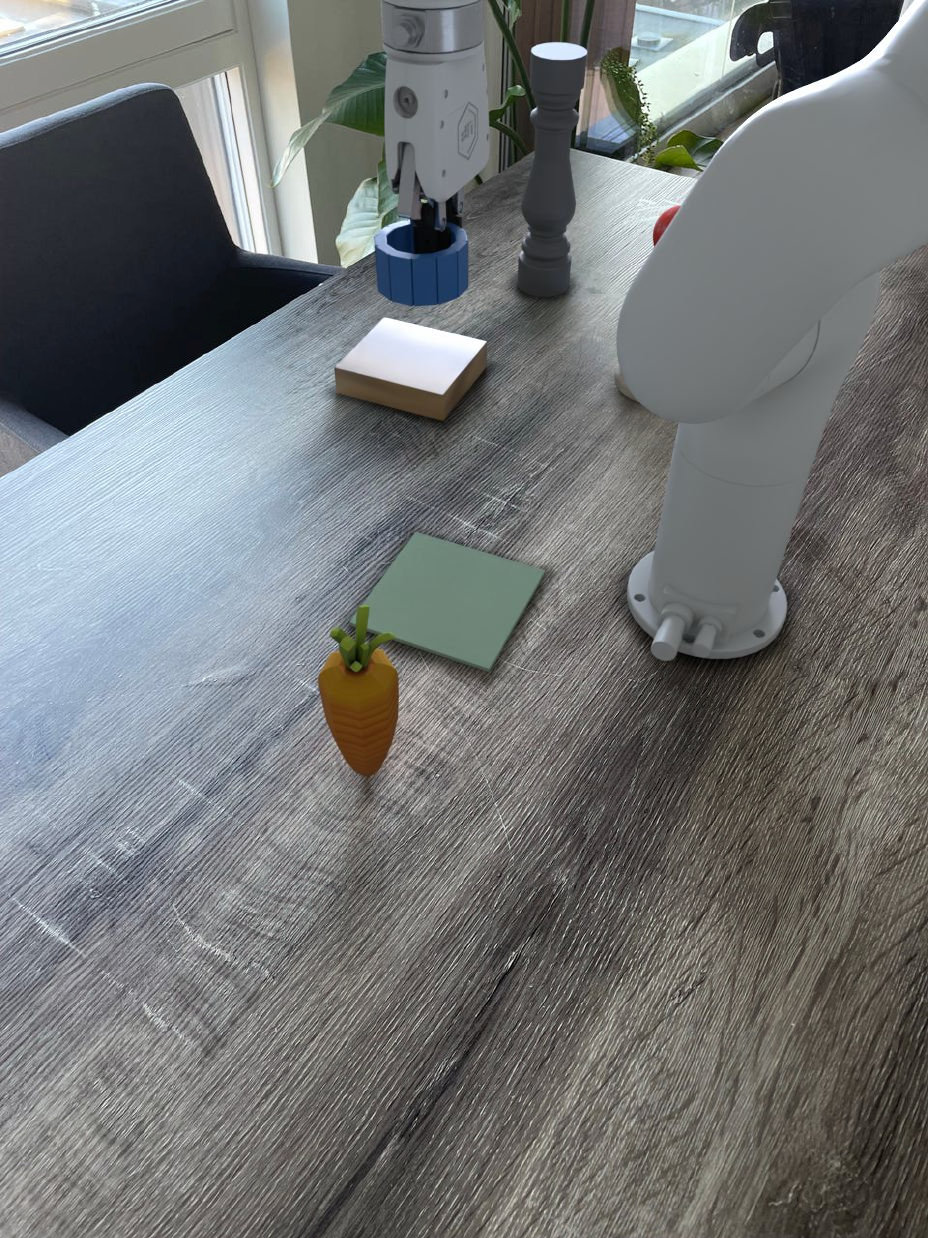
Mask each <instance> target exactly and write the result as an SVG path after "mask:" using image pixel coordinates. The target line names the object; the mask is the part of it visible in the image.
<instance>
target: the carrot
mask: <svg viewBox="0 0 928 1238" xmlns="http://www.w3.org/2000/svg"><path fill="white" fill-rule="evenodd" d="M361 605H362V604H361ZM361 605H358V606H357V610H356V612H357V616H356V628H355V637H354V638H352V637H350V636H349V635H348V634H347V633H346V631H344V630H343V629H342V628H341V627H339V626H336V627H333V628H332V629H331V630H330V633H329V637H330V638H332V640H334V641H335V642H336V643H338V650H337V651H334V652H331V653H330V654H329V655H328V658H326V661H325V663H324V665H323V666H322V669H320V670H321V671H320V672H319V673H318V676H317V677H318V678H317V685H318V690H319V697H320V700H321V701H320V702H321V705H322V709H323V713H324V714H323V715H324V718H325V721H326V725H327V726H328V729H329V731H330V734H331V736H332V737H333V741H334V742H335V744H336V747H337V749H338V750H339V751H340V753H341V756H342V757H343V759H344V761H345V762H346V764H347V765H348V766H349V767H350V768H351V770H353V771H354V772H355V773H357V774H358V775H360V776H362V777H365V778H369V777H372V776H374V775H376V774H377V773H378V771H380V769H381V768H382V766H383V764H384V762H385V761H386V758H387V756H388V754H389V752H390V750H391V747H392V744H393V742H394V737H395V734H396V729H397V725H398V721H399V711H400V709H399V707H400V686H399V685H400V683H399V682H400V681H399V673H398V671H397V670H396V668H395V666H394V665H393V663H392V661H391V660H390V659H389V657H388V655H387V653H386V652H385V651H384V649H380V648H379V647H380V646H381V645H383V644H384V643H388V642H391V641H394V640H393V639H395V636H394V634H393V633H392V632H387V633H383V634H381V635H376V636H375V637H374V638H373V639H372V640H371V641H370V642H369V643H366V637H367V624H368V617H369V606H368V605H362V606H361ZM354 639H355V640H354Z"/></svg>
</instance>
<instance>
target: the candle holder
mask: <svg viewBox="0 0 928 1238" xmlns="http://www.w3.org/2000/svg"><path fill="white" fill-rule="evenodd" d="M587 56H588V50H587V49H586V48H585V47H583V46H581V45H578V44H575V43H570V42H559V41H558V42H557V41H553V42H545V43H540V44H536V45H535V46H533V47H531V50H530V64H529V85H528V86H529V87H530V88H531V95H532V97H533V99H534V102H535V105H536V107H535V108H534V109H532V110H531V112H530V114H529V122H531V124H532V125H533V127H534V130H535V133H534V134H535V135H534V150H533V151H534V152H533V160H532V164H531V167H530V170H529V175H528V178H527V182H526V184H525V189H524V192H523V196H522V199H521V204H520V210H521V214H522V216H523V218H524V220H525V222H526V224H527V230H528V233H527V234H526V236H525V238H523V239H522V241H521V244H520V245H521V246H520V249H521V250H522V251H520V252H519V255H518V261H517V263H518V264H517V282H516V283H517V284H516V285H517V287H518V288H519V290H520V291H522V292H523V293H525V294H526V295H531V296H534V297H538V298H539V297H540V298H549V297H557V296H560V295H562V294H564V293H566V292H567V291H568V290H569V287H570V279H571V269H572V259H573V258H572V255H571V254H570V250H571V243H570V241H569V240H568V237H567V236H566V234H565V233H567V228H568V227H567V226H568V225H569V224H570V223H571V222H572V220H573V219H574V216H575V213H576V210H577V209H576V208H577V197H576V191H575V186H574V184H575V183H574V177H573V171H572V164H571V147H572V131H573V130H574V128H575V127H576V126H577V125H578V124H579V121H580V114H579V112H577V110H576V109H575V108H574V107H576V105H577V102H578V100H579V99H580V98H581V94H582V90H583V89H584V88H585V82H586V81H585V80H586V70H587Z"/></svg>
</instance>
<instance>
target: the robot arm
mask: <svg viewBox="0 0 928 1238" xmlns="http://www.w3.org/2000/svg"><path fill="white" fill-rule="evenodd" d="M379 4H380V5H379V6H380V19H381V21H380V23H381V38H382V39H381V40H382V51H384V53H386V55H387V56H386V62H385V63H386V65H385V80H384V81H385V82H384V153H385V167H386V168H385V169H386V177H387V183H388V186H389V189H390V191H391V193H393V194H394V195H398V199H397V207H396V214H397V217H398V218H403V219H405V220H410V224H411V226H413V232H414V254H432V253H435V252H438V251H442V250H445V249H448V248H449V247H450V246H451V227H445V226H446V222H450V223H453V224H455V225H457V226H458V227H460V228H462V229H463V217H462V216H461V215H463V213H464V210H465V187H466V185H467V184H468V183H470V182H471V181H472V180H473V179H474V178H475V177H476V176H477V175H479V173H481V172H482V171H483V170H484V168H485V167H486V166H487V165H488V162H489V159H490V109H489V107H490V106H489V85H488V73H487V72H488V71H487V62H486V55H485V54H486V53H485V0H379ZM422 200H424V201H428V202H423V201H422ZM926 244H928V0H914V1H913V2H912V3H911V4H910V6H909V7H908V8H907V10H906V11H905V12H904V13H903V14H902V16H901V17H900V18H899V20H898V22H896V24H894V26H893V27H892V28H891V30H890V31H889V32H888V33H887V35H886V36H885V37H884V38H883V39H882V40H881V41H880V42H879V43H878V44H877V45H876V46H875V48H873V49H872V51H870V53H869V54H867V55H866V56H865V57H864V58H862V59H861V60H860V61H857V62H856V63H854V64H852V65H850V66H849V67H847V68H845V69H843V70H841V71H839V72H837V73H835V74H833V75H829V76H828V77H825V78H822V79H820V80H818V81H815V82H812V83H810V84H808V85H805V86H802V87H799V88H797V89H795V90H793V91H790V92H788V93H786V94H783V95H781V96H780V97H778V98H776V99H774V100H772V101H771V102H770V103H768V104H767V105H765V106H763V107H762V108H760V109H759V110H758V111H756V112H755V113H753V114H752V115H751V116H750V117H748V119H746V120H745V121H744V122H743V123H742V124H741V125H740V126H739V127H738V128H737V129H736V130H735V131H734V132H733V133H732V134H731V135H730V136H729V137H728V138H727V139H726V140H725V142H723V144H722V145H721V146H720V147H719V148H718V150H717V151H716V152H715V154H714V155H713V156H712V158H711V159H710V161H709V162H708V163H707V165H706V167H705V168H704V169H703V171H702V173H701V174H700V175H699V177H698V179H697V180H696V181H695V183H694V185H693V187H692V188H691V190H690V191H689V193H688V194H687V196H686V197H685V199H684V200H683V202H682V203H681V207H680V208H679V210H678V211H677V213H676V214H675V216H674V218H673V219H672V221H671V222H670V224H669V225H668V227H667V228H666V230H665V232H664V233H663V235H662V236H661V238H660V239H659V241H658V242H657V244H656V246H655V247H654V246H653V249H652V251H651V252H650V253H649V255H648V256H647V258H646V260H644V262H643V264H642V266H641V267H640V269H639V270H638V272H637V274H636V275H635V277H634V278H633V281H632V282H631V284H630V286H629V287H628V289H627V293H626V294H625V297H624V299H623V301H622V305H621V307H620V312H619V315H618V320H617V327H616V339H615V341H616V342H615V343H616V345H615V346H616V355H617V356H616V357H617V362H618V364H619V366H620V370H621V373H622V376H623V378H624V380H625V382H626V385H627V386H628V388H629V390H630V391H631V393H632V394H633V395H634V397H635V398H636V399H637V400H638V401H639V402H638V403H639V404H640V405H641V406H643V407H644V408H645V410H648V411H649V412H650V413H652V414H654V415H655V416H657V417H659V418H662V419H664V420H667V421H671V422H674V423H678V425H677V426H678V427H677V430H676V435H675V438H674V444H673V450H672V456H671V460H670V466H669V469H668V470H669V471H668V477H667V480H666V486H665V491H664V492H665V493H664V497H663V502H662V507H661V513H660V518H659V522H658V529H657V534H656V539H655V545H654V549H653V550H652V551H650V552H648V553H647V554H646V555H644V557H642V558H641V559H640V560H639V561H638V562H637V563H636V564H635V566H634V567H633V569H632V570H631V573H630V575H629V578H628V583H627V587H626V590H627V591H626V600H627V604H628V605H627V606H628V609H629V611H630V613H631V615H632V617H633V618H634V621H635V622H636V623H637V624H638V625H639V626H640V628H641V629H642V630H643V631H644V632H645V633H646V634H648V635H649V636H650V637H651V638H652V639H653V641H652V643H651V645H650V652H651V654H652V655H653V656H654V657H655V658H656V659H658V660H661V661H663V662H664V661H665V662H670V661H672V660H674V659H675V658H676V656H677V654H678V652H679V653H681V654H685V655H688V656H692V657H697V658H701V659H702V658H703V659H711V660H720V659H721V660H729V659H735V658H741V657H742V658H743V657H745V656H749V655H751V654H754V653H757V652H759V651H760V650H763V649H764V648H766V647H768V645H770V644H771V643H772V642H773V641H774V640H776V638H777V637H778V636H779V634H780V632H781V631H782V629H783V626H784V624H785V621H786V618H787V612H788V600H787V595H786V592H785V590H784V588H783V585H782V584H781V583H780V581H779V580H778V575H779V572H780V569H781V566H782V563H783V560H784V557H785V554H786V550H787V547H788V543H789V539H790V537H791V535H792V531H793V527H794V525H795V521H796V519H797V515H798V512H799V509H800V505H801V503H802V499H803V496H804V493H805V490H806V486H807V483H808V480H809V477H810V474H811V471H812V467H813V465H814V463H815V459H816V456H817V453H818V450H819V447H820V445H821V441H822V438H823V435H824V431H825V429H826V427H827V423H828V421H829V418H830V415H831V413H832V410H833V407H834V405H835V403H836V400H837V397H838V395H839V393H840V391H841V389H842V386H843V384H844V382H845V380H846V378H847V376H848V374H849V372H850V370H851V369H852V366H853V364H854V363H855V360H856V358H857V356H858V354H859V352H860V350H861V349H862V346H863V344H864V342H865V339H866V337H867V335H868V333H869V330H870V329H871V325H872V322H873V320H874V316H875V313H876V310H877V306H878V301H879V295H880V285H881V275H880V274H881V273H880V272H881V270H883V269H885V268H887V267H889V266H891V265H893V264H894V263H896V262H897V261H899V260H901V259H903V258H905V257H907V256H909V255H910V254H912V253H913V252H915V251H917V250H919V249H920V248H921V247H923V246H925V245H926Z"/></svg>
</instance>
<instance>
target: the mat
mask: <svg viewBox="0 0 928 1238" xmlns="http://www.w3.org/2000/svg"><path fill="white" fill-rule="evenodd" d="M545 575H546V570H545V569H542V568H539V567H535V566H532V565H530V564H529V565H528V564H526V563H521V562H518V561H515V560H511V559H508V558H505V557H502V556H498V555H495V554H493V553H488V552H485V551H483V550H482V551H481V550H478V549H475V548H471V547H469V546H464V545H461V544H458V543H455V542H451V541H448V540H445V539H442V538H437V537H436V536H431V535H428V534H425V533H422V532H418V531H415V532H414V533H413V535H411V537H410V539H409V540H408V542H407V543H406V544H405V545H404V547H403V548H402V549H401V551H400V552H399V553H398V555H397V557H396V558H395V559H394V561H393V562H392V563H391V564H390V566H389V567H388V568H387V570H386V571H385V572H384V574H383V575H382V576H381V578H380V579H379V581H378V582H377V584H376V585H375V586H374V588H373V589H372V590H371V591H370V593H369V594H368V596H367V597H366V598H365V600H364V601H363V602H362V604H361V605H360V606H362V605H368V606H369V617H368V624H367V631H366V633H367V632H368V633H371V634H374V635H376V636H378V635H381V634H383V633H387V632H392V633H393V634H394V636H395V639H393V640H392V641H395V642H397V643H400V644H404V645H406V646H410V647H412V648H414V649H415V648H416V649H419V650H421V651H424V652H427V653H430V654H432V655H436V656H440V657H442V658H445V659H448V660H451V661H454V662H457V663H460V664H463V665H466V666H469V667H471V668H475V669H478V670H480V671H484V672H487V673H490V672H491V670H492V668H493V667H494V665H495V663H496V661H497V660H498V658H499V657H500V654H501V653H502V651H503V649H504V647H505V645H506V644H507V642H508V640H509V639H510V637H511V635H512V633H513V631H514V630H515V628H516V626H517V625H518V623H519V622H520V619H521V617H522V615H524V612H525V610H526V608H527V606H528V605H529V603H530V602H531V599H533V596H534V594H535V592H536V591H537V589H538V587H539V585H540V584H541V582H542V581H543V579H544V577H545ZM356 616H357V611H356V612H355V614H354V615H353V616H352V618H351V619H350V620H349V622H348V624H349V626H350V627H353V628H355V629H356Z"/></svg>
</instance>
